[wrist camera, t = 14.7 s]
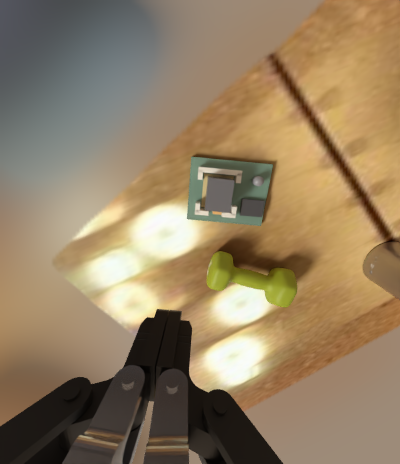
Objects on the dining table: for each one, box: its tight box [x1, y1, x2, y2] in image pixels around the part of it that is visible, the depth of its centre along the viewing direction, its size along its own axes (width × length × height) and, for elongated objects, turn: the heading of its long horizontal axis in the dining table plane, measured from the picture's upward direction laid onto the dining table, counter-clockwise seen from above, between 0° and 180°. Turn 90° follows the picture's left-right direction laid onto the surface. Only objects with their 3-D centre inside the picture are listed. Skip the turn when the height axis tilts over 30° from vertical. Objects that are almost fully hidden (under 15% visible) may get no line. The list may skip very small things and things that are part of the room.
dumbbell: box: [207, 251, 297, 307], centre depth 38 cm, size 16×8×7 cm, turn 73°
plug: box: [205, 176, 235, 215], centre depth 33 cm, size 4×6×5 cm
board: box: [187, 157, 273, 226], centre depth 35 cm, size 14×11×3 cm
